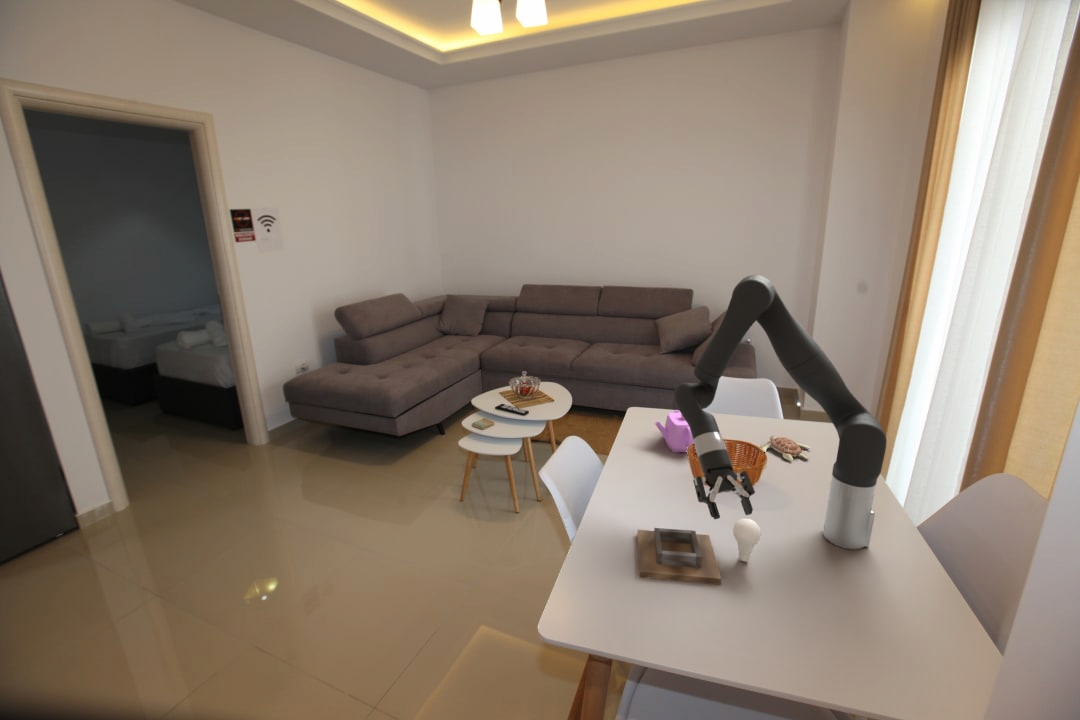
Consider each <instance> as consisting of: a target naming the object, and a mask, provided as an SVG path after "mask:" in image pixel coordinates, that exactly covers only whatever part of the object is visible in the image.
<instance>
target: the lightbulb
mask: <svg viewBox="0 0 1080 720" xmlns="http://www.w3.org/2000/svg"><path fill="white" fill-rule="evenodd" d="M732 533H733V536H734V539H735V541H736V542H737V550H738V559H739V560H740V561H742V562H749V561H750V559H751V554H752V553H753V550H754V547H755V545H757V544H758V542H759V541H760V540H761V537H762V531H761V528H760V526H759V524H758V523H756V522H755V521H754V520H752V519H750V518H740V519H739V520H737V521H736V522H735V523H734V524H733V528H732Z"/></svg>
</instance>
